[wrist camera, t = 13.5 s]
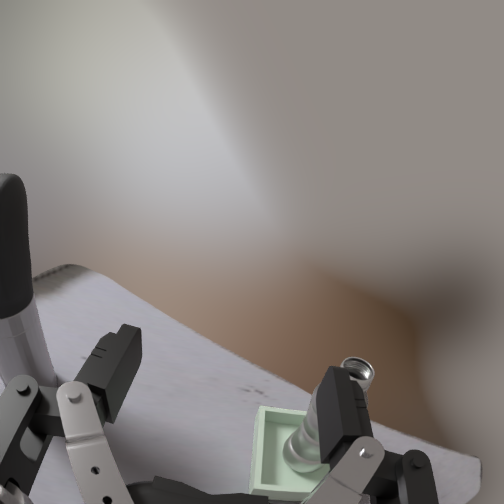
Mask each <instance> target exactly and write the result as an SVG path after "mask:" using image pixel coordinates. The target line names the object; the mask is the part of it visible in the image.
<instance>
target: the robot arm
mask: <svg viewBox="0 0 504 504" xmlns="http://www.w3.org/2000/svg"><path fill="white" fill-rule="evenodd" d="M27 209H28V208H27V197H26V191H25V187H24V184H23V182H22V180H21V178H20V177H19V176H17V175H15V174H0V377H1V379H2V381H3V383H4V385H5V386H6V388H5V389H4V391H3V393H2V394H1V396H0V504H33V502H32V500H31V499H30V498H29V497H28V496H29V493H30V491H31V488H32V485H33V483H34V480H35V478H36V475H37V473H38V470H39V468H40V465H41V463H42V461H43V458H44V456H45V454H46V451H47V449H48V447H49V444H50V442H51V440H52V438H53V436H61V437H66V441H65V444H66V449H67V452H68V456H69V459H70V462H71V466H72V469H73V472H74V475H75V478H76V481H77V484H78V487H79V490H80V493H81V495H82V498H83V501H84V503H85V504H272V503H269V502H268V498H269V496H262V495H252V494H244V493H236V494H220V495H211V494H207V493H205V492H202V491H200V490H198V489H195V488H193V487H191V486H189V485H187V484H184V483H182V482H178V481H174V480H170V479H166V478H162V477H158V476H155V477H154V480H153V481H144V482H136V483H132V484H129V485H126V486H125V483H124V481H123V479H122V477H121V474H120V472H119V470H118V467H117V465H116V462H115V460H114V457H113V455H112V452H111V450H110V447H109V445H108V442H107V439H106V437H105V434H104V431H103V429H102V428H103V426H104V424H105V421H106V422H109V423H112V424H114V421H115V419H116V417H117V415H118V412H119V410H120V408H121V406H122V403H123V401H124V399H125V397H126V395H127V392H128V390H129V388H130V386H131V384H132V382H133V379H134V377H135V375H136V373H137V371H138V369H139V366H140V363H141V359H142V338H141V329H140V328H138V327H134V326H131V325H127V324H123V325H122V326H121V328H120V329H119V331H118V332H117V334H115V333H112V332H109V333H108V334H106V335H105V336H103V337H102V338H101V339H100V340H99V342H98V343H97V345H96V346H95V348H94V349H93V351H92V352H91V355H90V356H89V357H88V359H87V360H86V362H85V363H84V365H83V367H82V368H81V370H80V371H79V373H78V375H77V376H76V378H75V379H74V380H73V381H69V382H66V383H64V384H62V385H61V386H60V387H59V388H57V378H56V375H55V372H54V369H53V366H52V362H51V359H50V356H49V352H48V349H47V345H46V342H45V338H44V334H43V331H42V327H41V323H40V319H39V314H38V310H37V306H36V301H35V296H34V292H33V286H32V274H31V259H30V250H29V237H28V210H27ZM316 409H317V421H318V433H319V446H320V460H321V464H329V465H330V470H329V471H328V472H327V474H326V475H325V476H324V477H323V478H322V480H321V481H320V482H319V483H318V484H317V486H316V487H315V488H314V489H313V490H312V491H311V492H310V494H309V495H308V496H307V497H306V498H305V499H304V500H303V501H302V502H301V503H300V504H358V503H359V501H360V500H361V498H362V495H361V493H364V494H368V495H370V502H371V504H439V502H438V497H437V491H436V486H435V481H434V476H433V472H432V467H431V463H430V460H429V458H428V456H427V455H426V454H425V453H424V452H422V451H420V450H409V451H407V452H406V453H405V454H404V455H400V454H397V453H393V452H389V451H386V450H384V448H383V446H382V444H381V443H380V442H379V441H378V440H376V439H375V438H374V437H373V433H372V428H371V423H370V419H369V414H368V410H367V405H366V401H365V397H364V392H363V389H362V388H361V386H360V385H359V383H358V382H357V381H356V380H351V379H350V375H349V370H348V368H345V367H336V366H330V367H329V368H328V370H327V372H326V374H325V376H324V378H323V380H322V382H321V384H320V386H319V388H318V390H317V394H316Z"/></svg>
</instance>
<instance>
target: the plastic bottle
mask: <svg viewBox="0 0 504 504" xmlns="http://www.w3.org/2000/svg"><path fill="white" fill-rule="evenodd" d="M340 367H345V368H348V370H349V375H350V379H351V380H356V381H357V382H358V383H359V385H360V386H361V388H362V389H363V392H364V397H365V401H366V405H367V406H368V397H367V393H366V391H367V390H368V388H369V386H370V383H371V381H372V379H373V378H374V374H375V373H374V369H373V367H372V366H371V365H370V364H369V363H368V362H367V361H365V360H363V359H361V358H358V357H348V358H346V359H344V361H343V362H342V364H341V366H340ZM320 384H321V383H320ZM320 384H319V385H318V386H317V387H316V388H315V390H314V392H313V395H312V398H311V401H310V404H309V408H308V411H307V413H306V415H305V418H304V420H303V422H302V423H301V424H300V426H299V427H298V428H297V430H296V431H295V432H293V433H292V434H291V435H290V436H289V437H288V439H287V440H286V441H285V443H284V447H283V451H282V455H283V459H284V461H285V463H286V464H287V465H288V466H289V467H290V468H291V469H293V470H295V471H297V472H300V473H312V472H315V471H317V470H319V469H320V468H322V467H323V466H324V465H325V464H321V460H320V446H319V433H318V421H317V409H316V394H317V390H318V388H319V386H320Z"/></svg>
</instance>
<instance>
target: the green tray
mask: <svg viewBox="0 0 504 504" xmlns="http://www.w3.org/2000/svg"><path fill="white" fill-rule="evenodd" d="M306 413H307V411H298V410H289V409H281V408H274V407H267V406H260V407H259V410H258V413H257V415H256V418H255V426H254V438H253V449H252V461H251V472H250V483H249V494H252V495H262V496H269V498H268V499H269V500H282V501H303V500H304V499H305V498H306V497H307V496H308V495H309V494H310V492H311V491H312V490H313V489H314V488H315V487H316V486H317V484H318V483H319V482H320V481H321V480H322V478H323V477H324V476H325V475H326V474H327V472H328V471H329V470H330V465H329V464H325V465H324V466H323V467H322V468H320V469H319V470H317V471H315V472H312V473H300V472H297V471H295V470H293V469H291V468H290V467H289V466H288V465H287V464H286V463H285V461H284V459H283V455H282V451H283V447H284V443H285V441H286V440H287V439H288V437H289V436H290V435H291V434H292V433H293V432H295V431H296V430H297V428H298V427H299V426H300V424H301V423H302V422H303V420H304V418H305V415H306Z"/></svg>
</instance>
